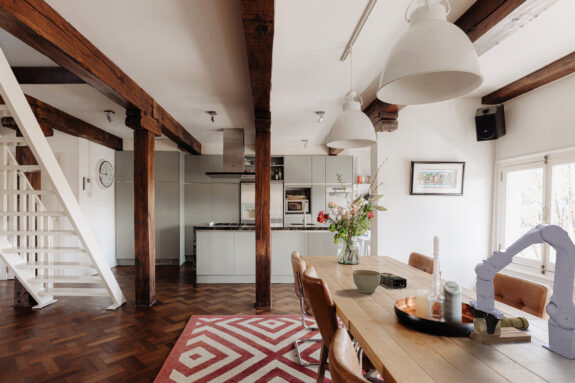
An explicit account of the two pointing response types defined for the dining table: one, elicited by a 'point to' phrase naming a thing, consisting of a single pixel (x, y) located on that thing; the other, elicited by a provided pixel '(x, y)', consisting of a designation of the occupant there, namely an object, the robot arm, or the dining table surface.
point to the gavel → (514, 322)
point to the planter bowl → (366, 280)
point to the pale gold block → (484, 327)
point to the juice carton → (392, 280)
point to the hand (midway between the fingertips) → (486, 331)
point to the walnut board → (503, 336)
